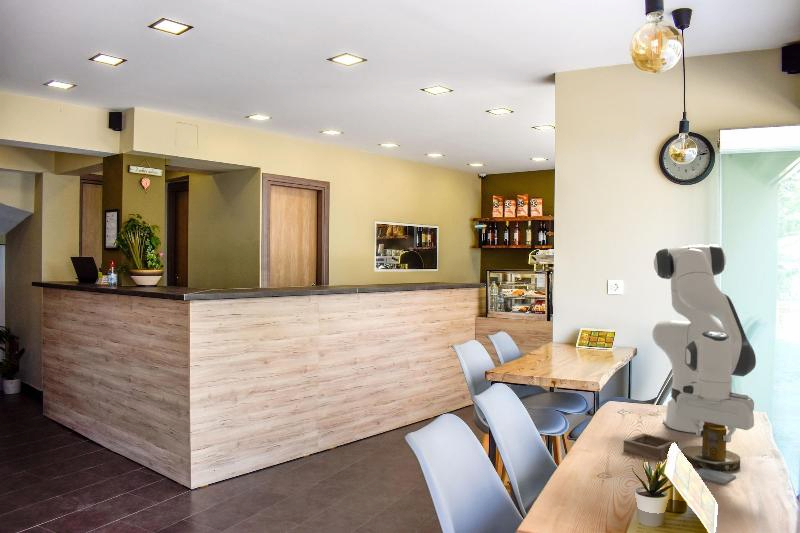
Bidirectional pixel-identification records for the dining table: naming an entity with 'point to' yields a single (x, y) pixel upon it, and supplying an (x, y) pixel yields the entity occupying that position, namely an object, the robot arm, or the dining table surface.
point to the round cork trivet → (720, 467)
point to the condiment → (713, 444)
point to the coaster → (715, 476)
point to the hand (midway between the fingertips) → (713, 438)
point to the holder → (648, 446)
